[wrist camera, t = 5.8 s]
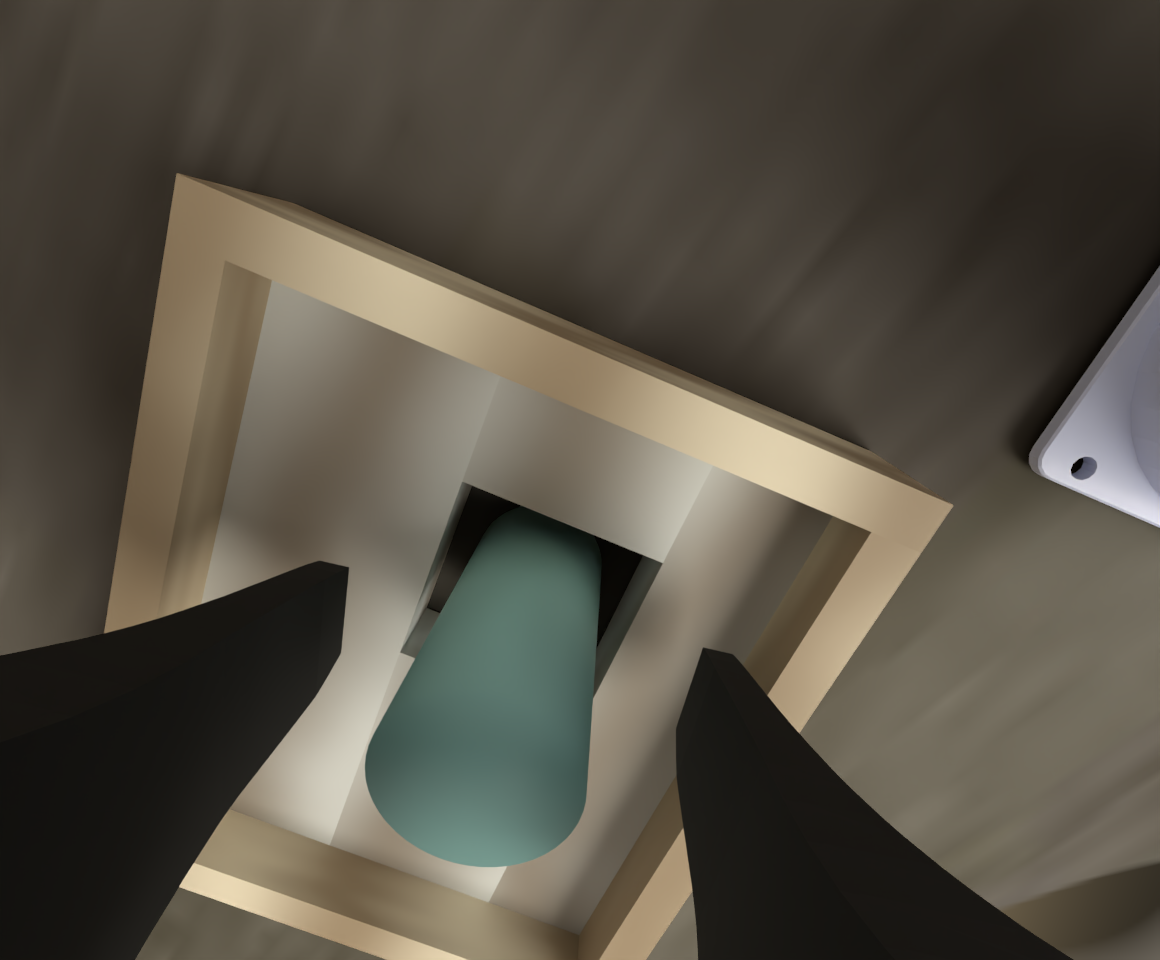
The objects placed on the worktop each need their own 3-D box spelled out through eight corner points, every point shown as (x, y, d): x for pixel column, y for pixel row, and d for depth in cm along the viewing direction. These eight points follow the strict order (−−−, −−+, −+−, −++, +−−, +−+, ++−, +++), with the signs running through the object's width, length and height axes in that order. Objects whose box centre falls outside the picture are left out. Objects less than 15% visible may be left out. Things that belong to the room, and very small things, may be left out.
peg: (610, 514, 14) (601, 709, 8) (593, 625, 15) (572, 881, 9) (482, 496, 14) (365, 674, 8) (473, 608, 16) (364, 849, 9)
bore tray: (871, 451, 13) (953, 505, 10) (600, 899, 18) (596, 1032, 15) (293, 202, 13) (176, 172, 9) (173, 743, 18) (69, 848, 14)
